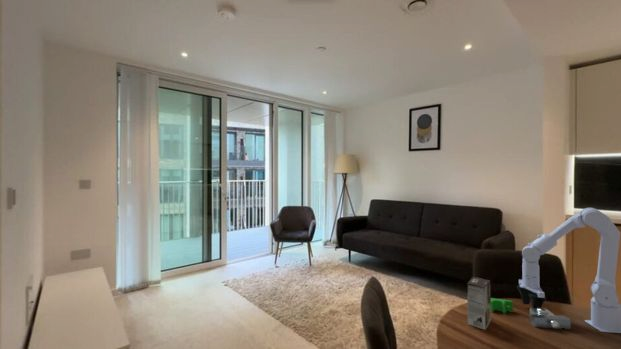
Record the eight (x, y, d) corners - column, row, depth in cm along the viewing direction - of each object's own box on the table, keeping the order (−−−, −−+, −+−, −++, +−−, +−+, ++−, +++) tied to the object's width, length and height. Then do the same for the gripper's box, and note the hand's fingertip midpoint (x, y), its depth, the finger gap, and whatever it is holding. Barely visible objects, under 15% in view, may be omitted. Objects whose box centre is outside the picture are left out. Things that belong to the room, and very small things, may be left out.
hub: (546, 317, 117) (546, 305, 117) (556, 325, 111) (556, 313, 111) (529, 316, 118) (529, 305, 118) (539, 324, 112) (538, 312, 112)
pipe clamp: (482, 311, 123) (482, 300, 123) (481, 307, 126) (481, 296, 126) (514, 315, 119) (514, 304, 119) (512, 311, 122) (512, 300, 122)
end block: (565, 325, 110) (565, 315, 110) (574, 331, 106) (574, 322, 106) (530, 323, 112) (530, 314, 112) (537, 329, 108) (537, 320, 108)
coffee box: (473, 315, 119) (472, 276, 119) (491, 321, 114) (491, 279, 114) (467, 324, 112) (466, 282, 112) (486, 330, 108) (485, 286, 108)
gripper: (511, 269, 129) (511, 299, 129) (530, 281, 115) (530, 315, 115) (528, 269, 128) (529, 300, 128) (550, 282, 114) (550, 316, 114)
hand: (531, 307), depth 122 cm, fingers open, 7 cm apart
